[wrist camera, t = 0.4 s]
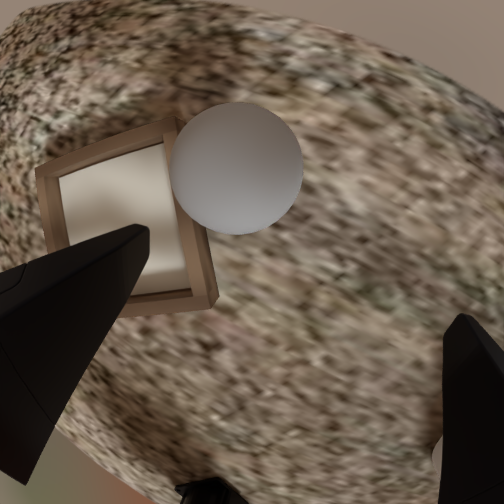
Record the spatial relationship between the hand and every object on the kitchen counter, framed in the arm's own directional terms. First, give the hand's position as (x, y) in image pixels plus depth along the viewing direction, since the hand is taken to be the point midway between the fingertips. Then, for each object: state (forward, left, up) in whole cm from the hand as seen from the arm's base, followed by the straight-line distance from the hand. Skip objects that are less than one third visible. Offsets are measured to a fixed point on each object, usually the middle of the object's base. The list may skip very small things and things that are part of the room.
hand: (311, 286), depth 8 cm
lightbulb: (-1, +5, -15) cm, 16 cm away
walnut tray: (-11, +7, -15) cm, 20 cm away
